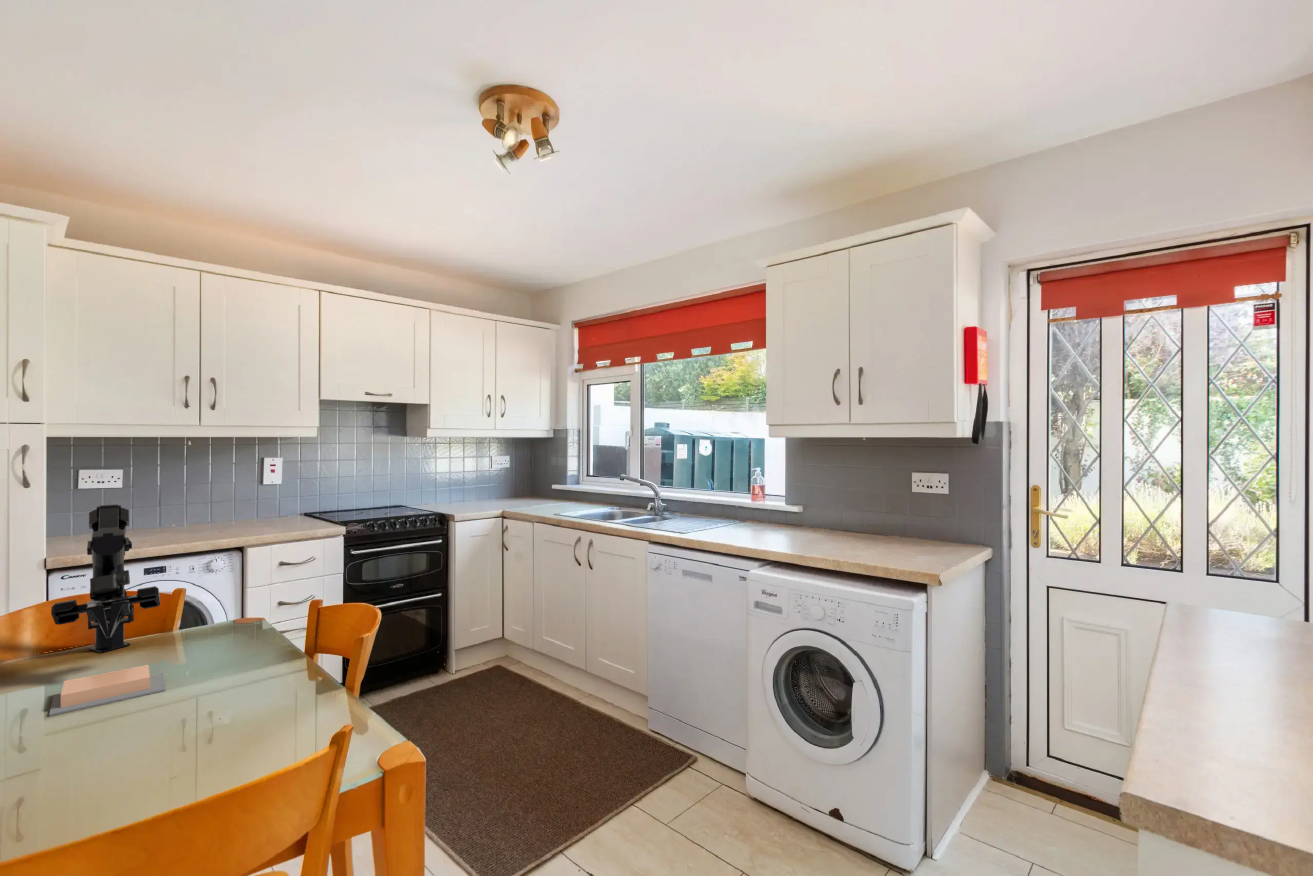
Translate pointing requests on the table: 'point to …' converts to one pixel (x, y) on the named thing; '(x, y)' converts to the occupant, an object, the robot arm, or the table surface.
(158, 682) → the mat
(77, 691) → the terracotta tile
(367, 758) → the table surface
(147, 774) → the table surface
